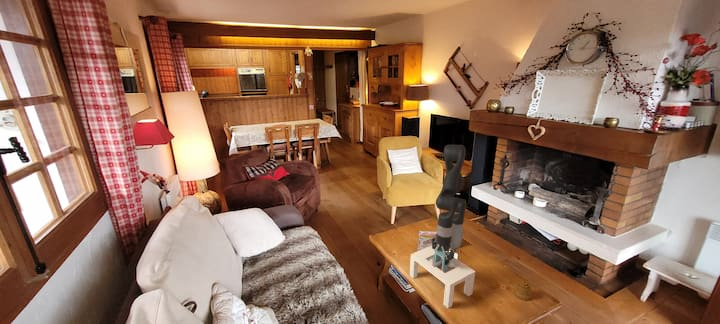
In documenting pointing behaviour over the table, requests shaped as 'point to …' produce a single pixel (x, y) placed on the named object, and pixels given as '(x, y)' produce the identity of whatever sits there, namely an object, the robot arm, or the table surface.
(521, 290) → the ornamental finial
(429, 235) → the candy bar box
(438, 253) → the teal u-channel bracket
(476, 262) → the table surface
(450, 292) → the cutout shelf
